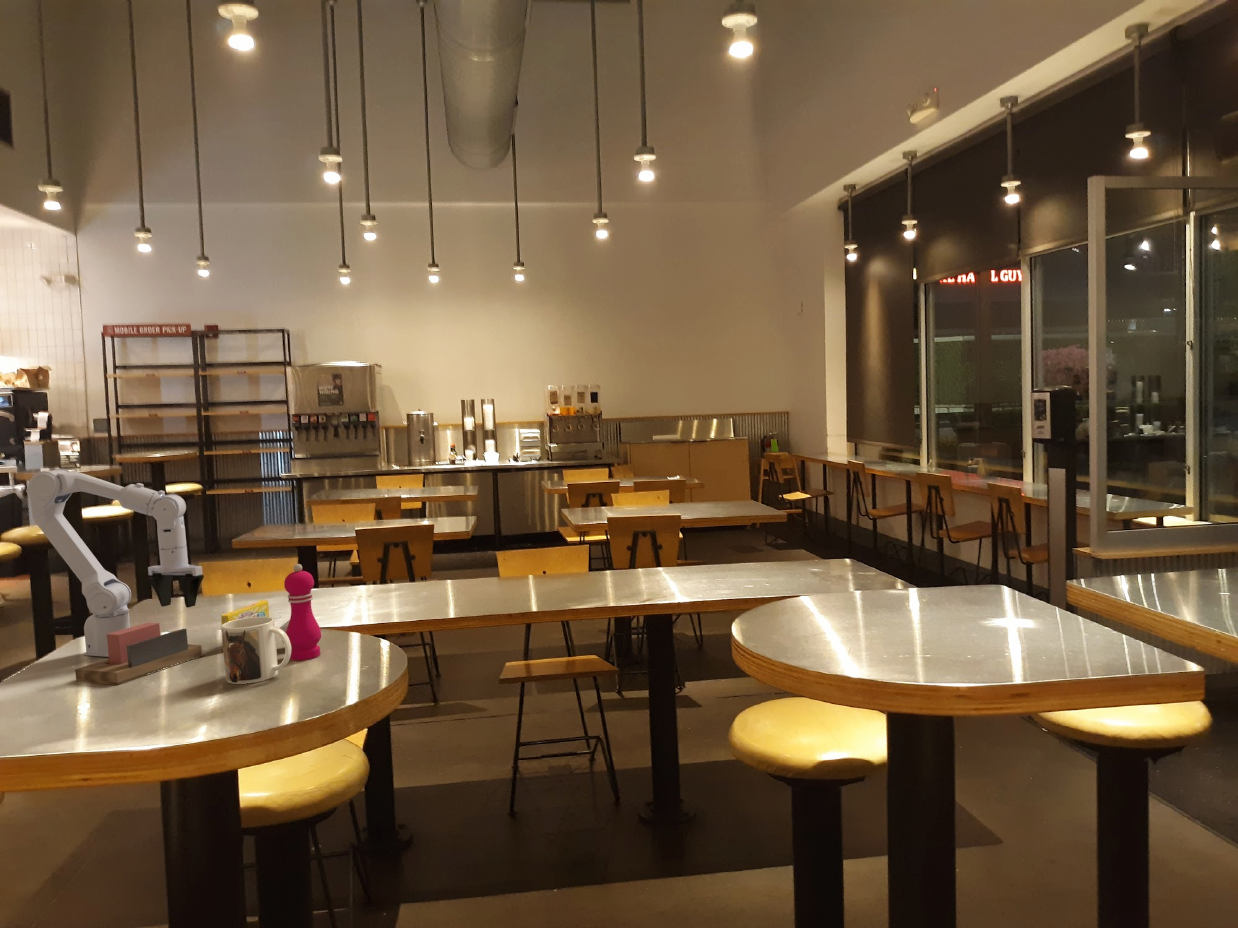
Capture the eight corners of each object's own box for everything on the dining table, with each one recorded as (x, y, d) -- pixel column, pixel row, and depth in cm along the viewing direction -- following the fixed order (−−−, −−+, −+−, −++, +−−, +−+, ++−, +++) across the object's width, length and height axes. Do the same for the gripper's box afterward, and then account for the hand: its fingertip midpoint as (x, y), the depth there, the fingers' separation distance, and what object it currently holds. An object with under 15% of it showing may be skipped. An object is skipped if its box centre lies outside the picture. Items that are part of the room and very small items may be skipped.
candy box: (230, 651, 209) (227, 615, 209) (222, 652, 210) (218, 615, 209) (271, 633, 225) (268, 599, 225) (263, 633, 226) (260, 599, 225)
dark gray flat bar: (128, 667, 190) (126, 645, 190) (184, 649, 203) (182, 628, 203) (132, 667, 190) (129, 645, 190) (188, 649, 203) (186, 628, 203)
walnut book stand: (76, 681, 192) (75, 669, 192) (162, 653, 211) (161, 642, 211) (117, 684, 187) (116, 672, 187) (202, 656, 206) (201, 645, 206)
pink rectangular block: (110, 671, 196) (106, 634, 195) (150, 658, 205) (147, 622, 204) (122, 672, 194) (118, 634, 194) (162, 659, 203) (159, 623, 203)
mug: (269, 666, 194) (264, 613, 194) (295, 675, 186) (290, 620, 185) (217, 678, 187) (212, 624, 186) (242, 689, 179) (237, 632, 178)
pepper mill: (329, 652, 203) (322, 560, 202) (308, 661, 196) (300, 567, 195) (302, 651, 205) (294, 560, 204) (280, 660, 198) (272, 567, 197)
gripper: (134, 550, 214) (140, 609, 215) (182, 550, 209) (188, 610, 210) (160, 545, 221) (165, 602, 222) (207, 545, 215) (212, 603, 216)
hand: (178, 606), depth 216 cm, fingers open, 7 cm apart
